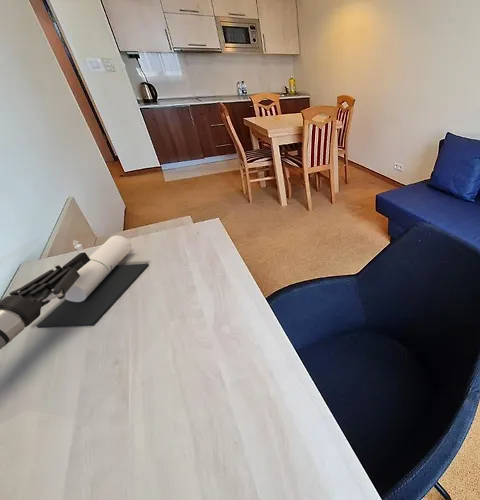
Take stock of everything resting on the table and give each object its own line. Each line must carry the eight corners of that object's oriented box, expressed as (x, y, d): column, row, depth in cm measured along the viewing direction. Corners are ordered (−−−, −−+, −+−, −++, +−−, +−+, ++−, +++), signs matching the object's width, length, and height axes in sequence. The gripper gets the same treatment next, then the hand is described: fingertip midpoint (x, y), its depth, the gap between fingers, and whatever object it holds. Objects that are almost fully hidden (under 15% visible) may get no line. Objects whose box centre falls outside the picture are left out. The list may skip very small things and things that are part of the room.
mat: (37, 327, 81) (35, 325, 81) (104, 267, 102) (102, 265, 102) (94, 325, 80) (92, 323, 80) (149, 265, 101) (148, 263, 101)
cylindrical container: (88, 303, 88) (132, 253, 109) (83, 285, 84) (130, 237, 105) (60, 300, 87) (110, 250, 107) (53, 281, 83) (107, 233, 103)
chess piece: (79, 268, 103) (61, 244, 97) (91, 260, 107) (74, 236, 101) (91, 269, 102) (73, 245, 96) (103, 260, 106) (86, 236, 100)
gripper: (-6, 330, 71) (72, 267, 90) (46, 328, 70) (113, 265, 89) (-32, 307, 66) (56, 246, 86) (23, 305, 65) (99, 244, 85)
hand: (85, 256), depth 87 cm, fingers closed
